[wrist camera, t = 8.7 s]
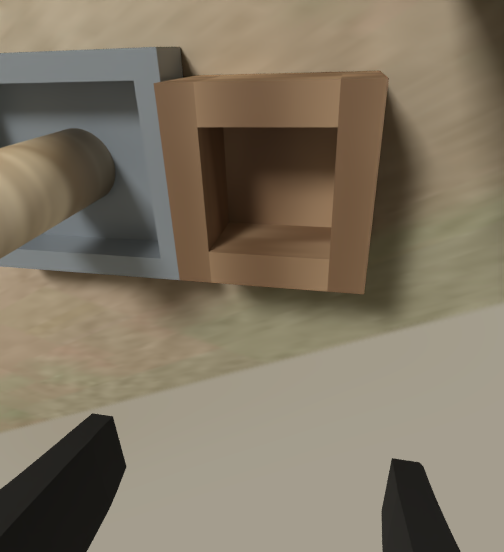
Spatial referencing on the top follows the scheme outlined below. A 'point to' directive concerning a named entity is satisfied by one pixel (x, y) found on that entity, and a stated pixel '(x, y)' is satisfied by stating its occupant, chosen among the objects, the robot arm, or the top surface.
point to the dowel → (50, 183)
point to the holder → (273, 176)
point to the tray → (119, 141)
